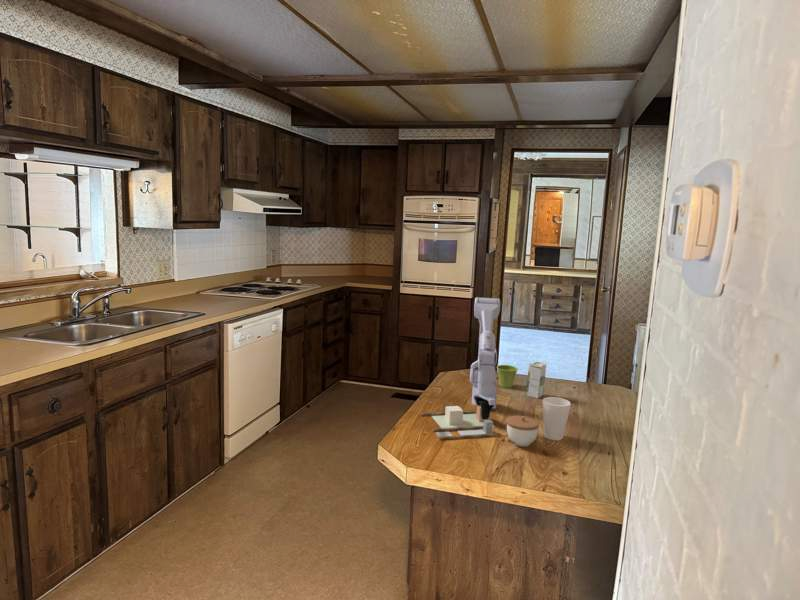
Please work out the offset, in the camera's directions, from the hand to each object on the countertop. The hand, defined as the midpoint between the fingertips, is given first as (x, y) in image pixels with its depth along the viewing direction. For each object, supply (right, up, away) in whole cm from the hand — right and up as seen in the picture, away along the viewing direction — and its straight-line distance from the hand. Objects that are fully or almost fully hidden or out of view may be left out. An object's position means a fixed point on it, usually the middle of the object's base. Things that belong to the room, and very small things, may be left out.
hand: (483, 417), depth 205 cm
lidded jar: (+11, -6, -16) cm, 20 cm away
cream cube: (-11, -1, -3) cm, 12 cm away
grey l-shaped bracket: (-5, -4, -12) cm, 13 cm away
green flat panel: (-8, -2, -2) cm, 8 cm away
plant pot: (+17, +4, +46) cm, 49 cm away
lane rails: (-10, -3, -6) cm, 12 cm away
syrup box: (+27, +2, +34) cm, 44 cm away
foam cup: (+23, -5, -10) cm, 26 cm away
